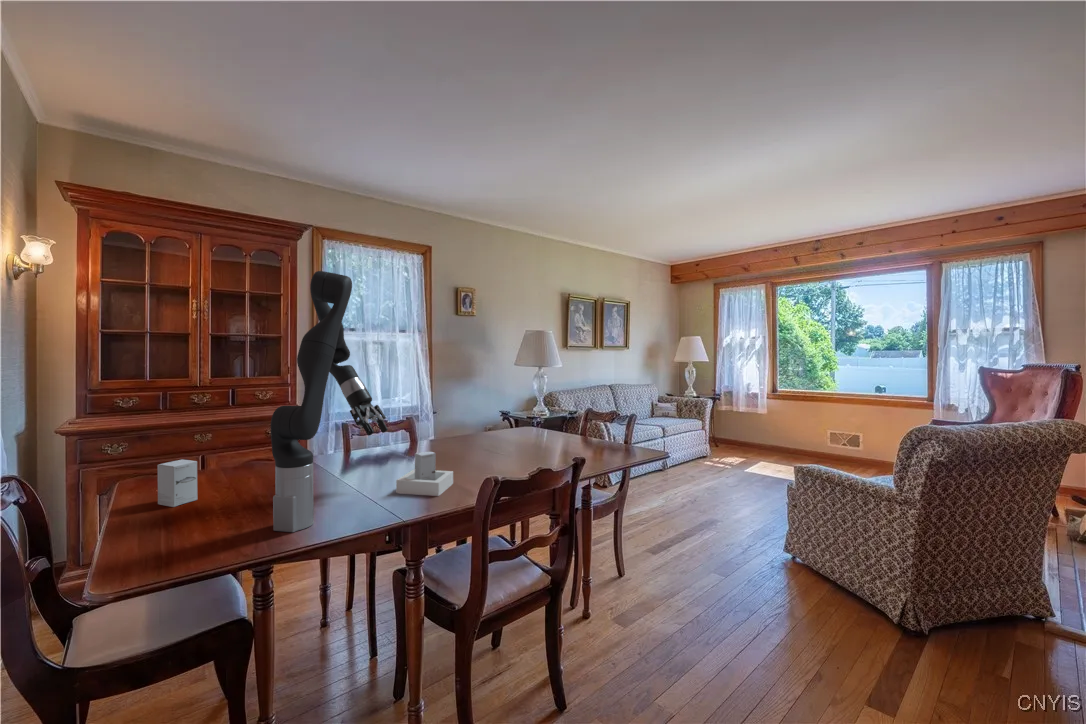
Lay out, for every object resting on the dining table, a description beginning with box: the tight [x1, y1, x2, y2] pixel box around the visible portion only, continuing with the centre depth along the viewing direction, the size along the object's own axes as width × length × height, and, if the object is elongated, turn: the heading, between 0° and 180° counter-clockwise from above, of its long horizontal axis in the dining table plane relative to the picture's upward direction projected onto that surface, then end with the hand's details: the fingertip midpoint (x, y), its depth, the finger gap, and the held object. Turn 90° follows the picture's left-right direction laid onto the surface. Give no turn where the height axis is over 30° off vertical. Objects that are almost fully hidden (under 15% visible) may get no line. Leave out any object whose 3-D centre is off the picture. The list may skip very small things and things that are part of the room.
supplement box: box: [157, 459, 198, 508], centre depth 146 cm, size 7×7×13 cm
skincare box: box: [414, 451, 437, 481], centre depth 163 cm, size 6×4×12 cm
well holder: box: [395, 468, 454, 497], centre depth 163 cm, size 14×15×4 cm
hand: (378, 432), depth 160 cm, fingers open, 8 cm apart
